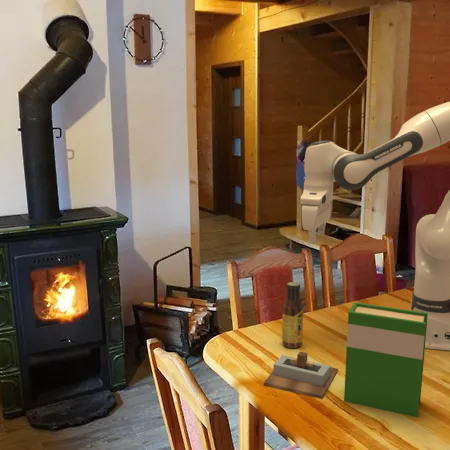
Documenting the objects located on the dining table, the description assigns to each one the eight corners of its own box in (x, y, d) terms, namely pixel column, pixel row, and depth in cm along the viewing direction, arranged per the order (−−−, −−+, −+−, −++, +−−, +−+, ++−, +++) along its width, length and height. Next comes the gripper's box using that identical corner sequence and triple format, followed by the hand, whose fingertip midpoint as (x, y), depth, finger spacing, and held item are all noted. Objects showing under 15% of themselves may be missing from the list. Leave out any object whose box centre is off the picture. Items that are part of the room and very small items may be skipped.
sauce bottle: (301, 350, 166) (303, 288, 161) (280, 348, 167) (282, 286, 163) (302, 341, 172) (304, 281, 168) (283, 339, 173) (284, 280, 169)
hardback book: (420, 402, 137) (427, 312, 132) (417, 417, 130) (425, 323, 125) (349, 387, 144) (354, 302, 139) (343, 401, 137) (348, 312, 132)
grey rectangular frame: (273, 374, 149) (273, 364, 149) (282, 364, 155) (282, 355, 154) (322, 386, 143) (323, 376, 142) (329, 375, 148) (330, 365, 148)
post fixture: (337, 371, 153) (338, 347, 151) (322, 398, 139) (323, 372, 137) (283, 360, 159) (284, 337, 158) (263, 385, 145) (264, 360, 144)
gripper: (317, 189, 176) (315, 230, 179) (298, 199, 158) (297, 245, 161) (336, 190, 174) (334, 232, 177) (319, 200, 155) (318, 247, 158)
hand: (316, 238), depth 169 cm, fingers open, 8 cm apart
